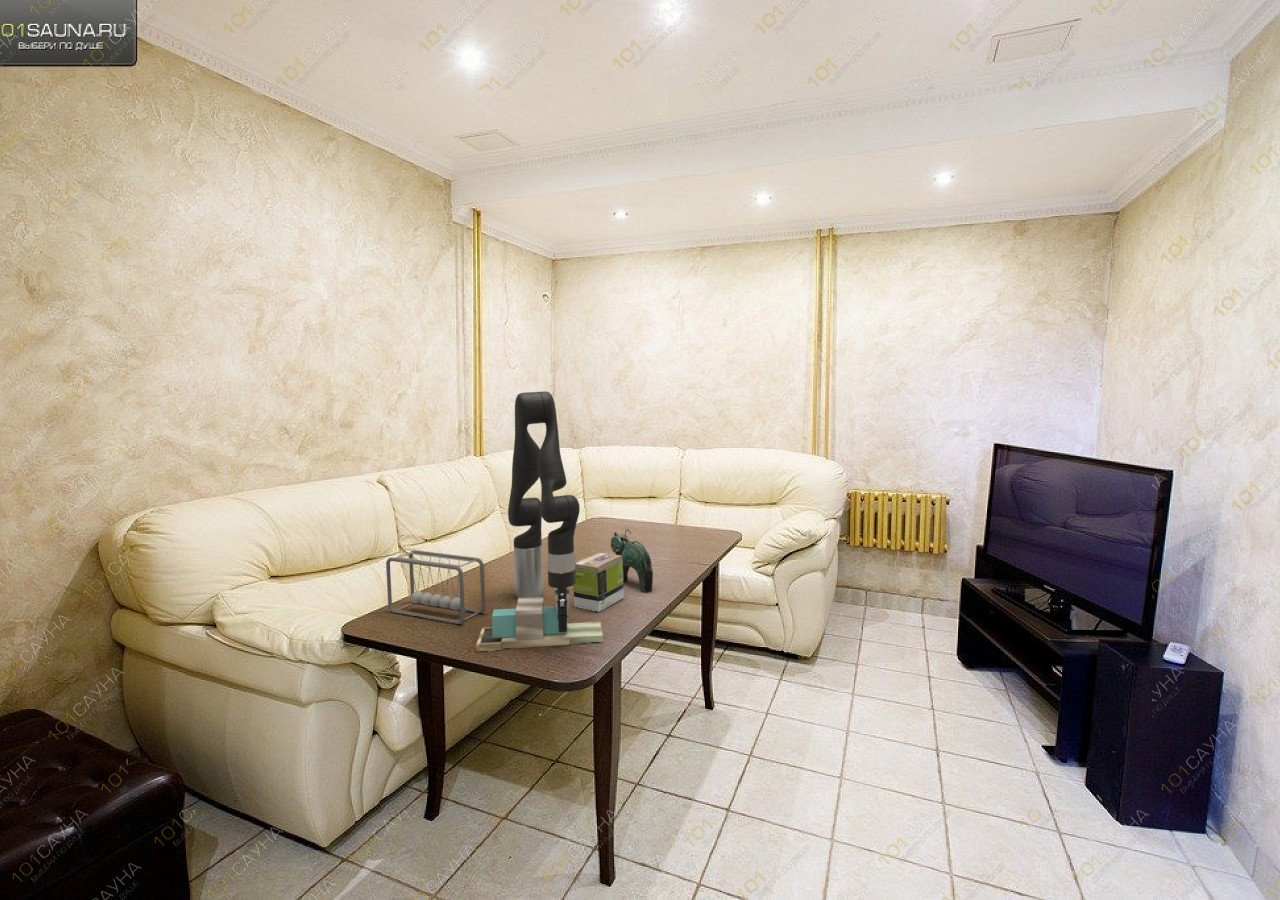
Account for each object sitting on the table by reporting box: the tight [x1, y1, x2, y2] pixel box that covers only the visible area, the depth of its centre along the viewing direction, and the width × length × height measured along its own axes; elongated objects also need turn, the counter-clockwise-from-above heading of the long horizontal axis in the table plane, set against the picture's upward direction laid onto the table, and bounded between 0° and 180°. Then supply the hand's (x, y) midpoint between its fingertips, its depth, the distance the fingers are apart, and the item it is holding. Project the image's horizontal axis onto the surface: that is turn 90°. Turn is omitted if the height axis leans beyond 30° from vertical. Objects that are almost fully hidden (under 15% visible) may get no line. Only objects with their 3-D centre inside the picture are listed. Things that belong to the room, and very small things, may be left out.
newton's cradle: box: [385, 549, 486, 625], centre depth 181 cm, size 30×10×18 cm, turn 66°
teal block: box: [491, 605, 567, 638], centre depth 161 cm, size 5×20×6 cm, turn 98°
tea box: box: [572, 552, 625, 613], centre depth 189 cm, size 15×10×15 cm
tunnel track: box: [475, 596, 604, 652], centre depth 161 cm, size 12×33×10 cm, turn 98°
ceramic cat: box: [610, 528, 654, 593], centre depth 206 cm, size 20×6×20 cm, turn 37°
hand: (562, 627), depth 162 cm, fingers closed on teal block, 5 cm apart
